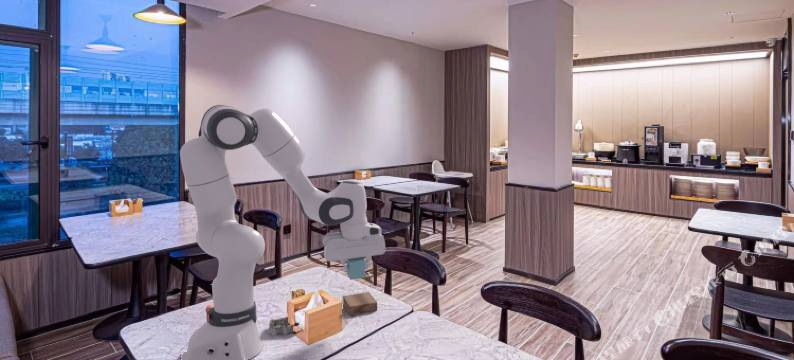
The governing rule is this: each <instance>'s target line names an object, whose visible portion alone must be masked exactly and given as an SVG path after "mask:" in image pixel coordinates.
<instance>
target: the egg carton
mask: <svg viewBox="0 0 794 360" xmlns="http://www.w3.org/2000/svg"><path fill="white" fill-rule="evenodd" d="M295 325H296V324H295ZM295 325H291V326H290V325H288V316H285V317H280V318H274V319H273V318H271V319H270V321H269V323H268V329H269V335H270V334H271V335H272V336H276V335H279V334H283V335H287V334H289V333H293V332H292V331H293V326H295Z"/></svg>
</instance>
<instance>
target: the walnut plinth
mask: <svg viewBox="0 0 794 360" xmlns="http://www.w3.org/2000/svg"><path fill="white" fill-rule="evenodd" d="M342 304H343V306H344V308H345V309H346V311H347V313H348V314H349V315H350V316H352V315H358V314H363V313H370V312H374V311H378V301H377V300H376V299H375V297H374V296H373V295H372V293H370V291H369V292H368V291H367V292H362V293H360V292H359V293H355V294H348V295H343V296H342Z"/></svg>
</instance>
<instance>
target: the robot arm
mask: <svg viewBox="0 0 794 360" xmlns="http://www.w3.org/2000/svg"><path fill="white" fill-rule="evenodd" d="M200 122H201V123H200V126H199V130H198V137H196V138H193V139H190V140H188V141H186V142H185V143H183V144H182V146H181V148H180V150H179V156H180V165H181V169H182V172H183V176H184V177H183V178H184V181H185V183H186V186H187V189H188V191H189V194H190V197H191V200H192V203H193V206H194V209H195V213H196V221H197V231H196V234H195V236H196V237H195V239H196V244H197V245H198V246H199V247H200V249H202V251H204V252H205V254H207V255H209V256H210V257H211V256H212V257H213V258H217V261H218V269H217V274H216V277H215V278H214V279H213V281H212V284H211V289H212V303H213V305H211V304H210V305H209V304H208V305H207V306H206V307H205V313H206V322H205V323H203V324H202V325H201V326H200V327H198V328H197V329H196V330H194V332H193V333H192V334H191V335H190V338H189V341H188V344H187V347H186V348H184V350H186V349H187V348H188V349H187V352H184V353H183V352H182V353H183V355H182V357H181V356H180V357H181V359H182V360H248V359H249V360H251V359H253V358H255V357H257V355H258V354H260V353H261V351H262V350H263V347H264V345H263V342H262V341H261V337H260V334H259V330H258V327H257V319H258V312H257V305H256V301H255V298H254V295H255V294H254V274H255V269H256V265H257V263H258V262H259V260H261V258H262V257H263V255H264V253H265V249H266V242H265V238H264V237H263V235H262V234H261V233H260V232H258V231H257V230H255V229H254V228H252V227H251V226H249V225H244V224H243V223H242V224H241V223H239V222H238V221H237V218H236V216H235V214H236V213H235V205H236V203H237V201H238V197H237V193H236V190H235V187H234V184H233V183H234V182H233V181H232V178H231V175H230V172H229V169H228V166H227V162H226V153H227V150H228V151H232V150H233V151H234V150H238V149H241V148H242V147H245V146H248V145H252V146H253V147H255V149H257V152H259V154H261V157H263V159H264V160H265V161H266V162H267V164H269V165H270V166H271V167H272V168H273V170H275V171H276V172H277V173H278V175H280V176H281V177H282V178H283V180H284V181H285V183H286V184H287V185H288V187H289V188H290V190H291V191H292V192H293V193H294V195H295V196H296V198H297V200H298V203H299V208H300V211H301V213H302V214H303V216H304V217H305V218H307V219H308V220H311V221H315V222H317V223H320V224H323V225H325V226H329V227H330V226H331V227H333V226H337V225H340V230H339V231H332V232H330V231H329V232H327V233H326V234H324V236H322V244H323V245H324V249H323V256H324V259H325V260H326V261H327V262H333V261H334V262H335V261H339V262H340V263H341V265H342V266H343V272H344V273H347V272H349V266H348V265H347V264H345V263H346V259H351V258H359V257H362V258H365V270H368V269H369V263H370V261H371V260H372V257H373V256H379V255H380V256H381V255H384V254H385V252H386V241H385V238H384V235H382V232H383V231H382V228H381V227H380V225H378V224H376V223H371V222H368V217H367V209H368V208H367V207H368V205H367V203H368V201H367V193H366V189H365V186H364V184H363V183H361V182H358V181H351V180H343V181H341V182H340V183H339V185H337V186H336V187H335V188H334V189H333V190H331V191H329V192H325V191H323V190H320V189H318V188H316V187H315V186H314V185H313V183H312V182H311V180H310V178H308V175H307V174H306V173H305V171H304V170H303V168H302V164H303V162H304V160H305V156H306V152H305V149H304V147H303V145H302V143H301V142H300V139H299V138H298V137H297V135H296V134H295V132H294V131H293V130H292V129H291V127H290V126H289V125H288V124H287V123H286V122H285V121H284V120H283V119H282V118H281V117H280V116H279V114H277V113H276V112H275V111H273V110H272V109H270V108H261V109H257V110H255V111H253V112H252V113H251V114H247V113H244V112H242V111H240V110H239V109H237V108H235V107H233V106H230V105H225V104H217V105H214V106H211V107H209V108H208V109H207V110H206V111H205V113H203V116H202V118H201V121H200ZM254 356H255V357H254ZM181 359H180V358H179V360H181Z"/></svg>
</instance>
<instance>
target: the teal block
mask: <svg viewBox="0 0 794 360" xmlns="http://www.w3.org/2000/svg"><path fill="white" fill-rule="evenodd" d="M345 261H346V265H348V266H349V272H346V275H347V276H348V278H349V280H351V281H352V280H359V279H365V278H366V269H365V261H366V259H364V257H359V258H351V259H345Z"/></svg>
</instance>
